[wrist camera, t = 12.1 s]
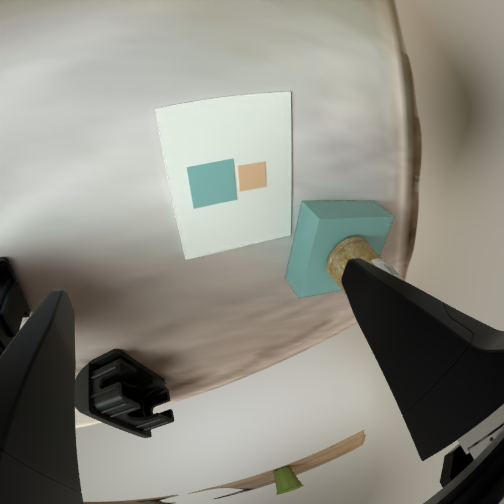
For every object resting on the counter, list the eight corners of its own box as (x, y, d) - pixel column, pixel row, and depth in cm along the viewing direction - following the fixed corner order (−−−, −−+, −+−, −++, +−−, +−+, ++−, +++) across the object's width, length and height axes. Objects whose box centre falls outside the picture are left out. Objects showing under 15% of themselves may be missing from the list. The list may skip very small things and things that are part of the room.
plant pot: (290, 463, 95) (300, 485, 86) (297, 464, 102) (306, 484, 94) (263, 473, 95) (272, 495, 86) (273, 473, 103) (281, 494, 94)
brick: (285, 276, 28) (298, 298, 26) (302, 201, 24) (319, 219, 22) (352, 267, 31) (366, 285, 29) (374, 200, 26) (394, 216, 24)
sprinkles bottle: (316, 255, 24) (415, 393, 14) (361, 224, 23) (473, 345, 13) (332, 284, 27) (415, 404, 16) (372, 256, 26) (464, 365, 16)
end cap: (72, 366, 27) (70, 418, 22) (114, 344, 27) (116, 402, 22) (128, 397, 34) (133, 442, 29) (168, 381, 34) (178, 428, 28)
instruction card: (185, 258, 24) (185, 260, 23) (155, 108, 16) (155, 109, 16) (289, 233, 26) (291, 235, 25) (289, 91, 18) (291, 91, 18)
